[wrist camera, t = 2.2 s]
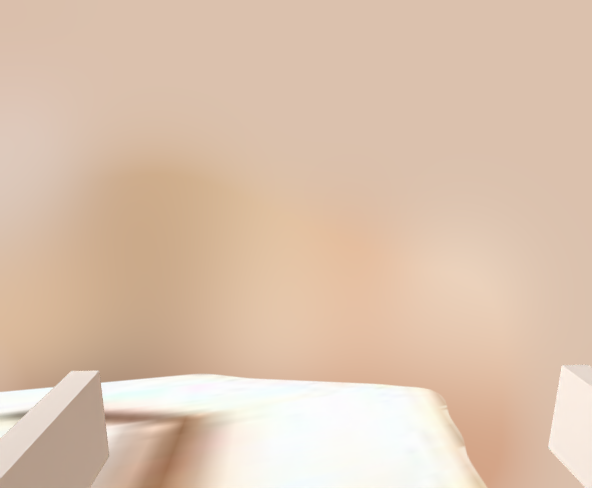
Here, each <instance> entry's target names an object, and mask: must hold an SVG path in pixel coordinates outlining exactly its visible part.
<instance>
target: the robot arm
mask: <svg viewBox="0 0 592 488" xmlns="http://www.w3.org/2000/svg"><path fill="white" fill-rule="evenodd" d="M548 448H549V449H550V451H552V453H553V454H554V455H555V456H556V457H557V458H558V459H559V460H560V461H561V462H562V463H563V464H564V465H565V467H566V468H567V469H568V470H569V471H570V472H571V473H572V474H573V475H574V476H575V477H576V478H577V479H578V481H579V482H580V483H581V484H582V485H583V486H584V487H585V488H592V367H590V366H589V365H562V368H561V373H560V379H559V386H558V391H557V397H556V403H555V409H554V416H553V421H552V427H551V433H550V439H549V445H548ZM108 457H109V448H108V440H107V432H106V423H105V415H104V406H103V398H102V390H101V381H100V373H99V371H71V372H70V373H69V374H68V375H67V376H66V377H65V378H63V379H62V380H61V381H60V382H59V383H58V384H57V385H56V386H55V387H54V388H53V389H52V390H51V391H50V392H49V393H48V394H47V395H46V396H45V397H43V398H42V399H41V400H40V401H39V402H38V403H37V404H36V405H35V406H34V407H33V408H32V409H31V410H30V411H29V412H28V413H27V414H26V415H25V416H24V417H22V418H21V419H20V420H19V421H18V422H17V423H16V424H15V425H14V426H13V427H12V428H11V429H10V430H9V431H8V432H7V433H6V434H5V435H4V436H2V437H1V438H0V488H90V487H91V485H92V484H93V482H94V480H95V479H96V477H97V475H98V474H99V472H100V471H101V469H102V467H103V466H104V464H105V462H106V461H107V459H108Z"/></svg>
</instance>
